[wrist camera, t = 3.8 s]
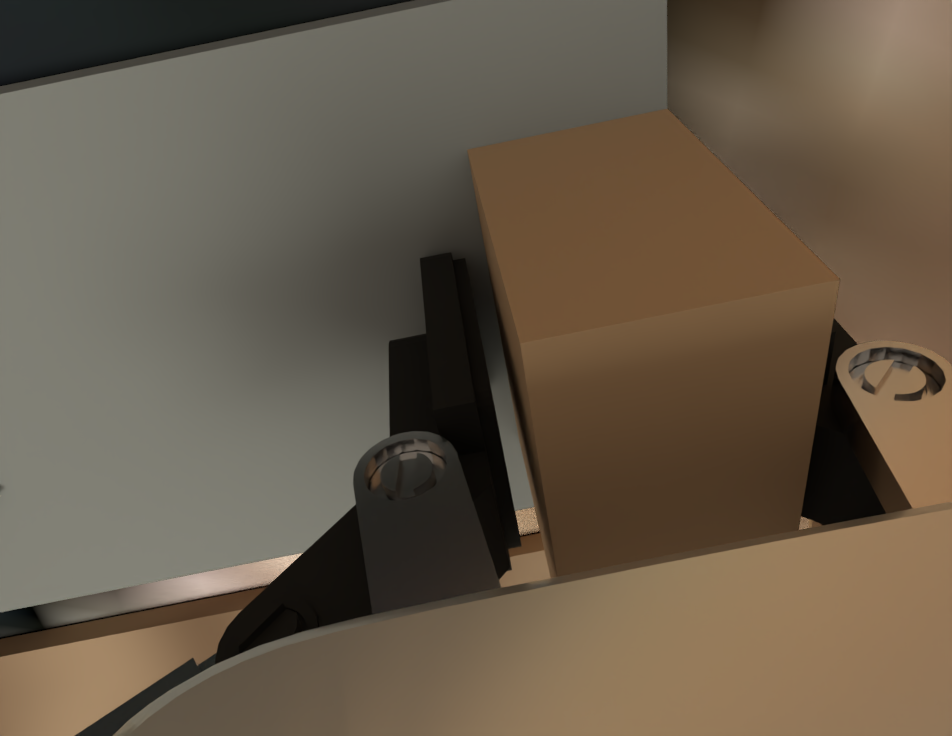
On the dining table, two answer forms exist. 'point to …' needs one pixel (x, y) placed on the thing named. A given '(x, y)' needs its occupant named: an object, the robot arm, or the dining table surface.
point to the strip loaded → (386, 292)
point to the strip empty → (136, 655)
